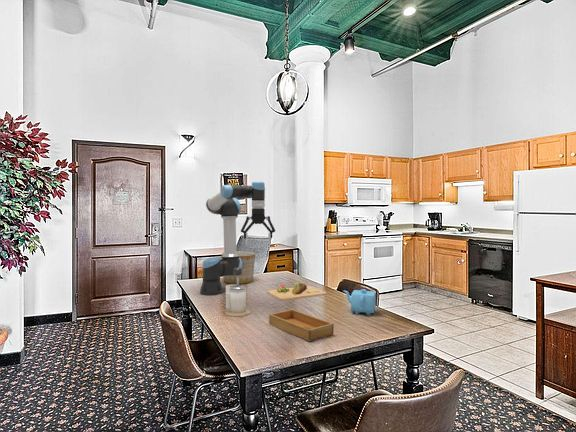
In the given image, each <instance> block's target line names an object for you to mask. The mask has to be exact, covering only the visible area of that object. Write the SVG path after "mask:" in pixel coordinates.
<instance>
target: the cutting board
mask: <svg viewBox="0 0 576 432" xmlns="http://www.w3.org/2000/svg"><path fill="white" fill-rule="evenodd" d="M278 287H279V288H276V289H270V290H268V291H266V294H268V295H270V296H272V297H274V298H275V299H278V300H279V301H289V300H297V299H303V298H304V299H305V298H313V297H320V296H326V295H327V293H328V292H326V291H324V290H321V289H319V288H316V287H314V286H311V285H306V284H304V283H302V282H298V284H297V283H294V284H293V287H285V285H283V284H280V285H279V286H278Z"/></svg>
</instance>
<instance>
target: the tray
mask: <svg viewBox="0 0 576 432" xmlns="http://www.w3.org/2000/svg"><path fill="white" fill-rule="evenodd" d="M268 324H269V325H271V326H273V327H275V328H277V329H280V330H282V331H284V332H287V333H288V334H289V333H290V334H291V335H293V336H296V337H298V338H301V339H302V340H305V341H307V342H311V341H316V340H318V339H321V338H325V337H328V336H331V335H334V327H335V326H334V323H332V322H329V321H327V320H324V319H322V318H318V317H315V316H313V315H310V314H307V313H304V312H302V311H298V310H296V309H293V308H292V309H288V310H283V311H278V312H274V313H273V312H272V313H270V314H269V315H268Z"/></svg>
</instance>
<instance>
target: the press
mask: <svg viewBox="0 0 576 432" xmlns="http://www.w3.org/2000/svg"><path fill="white" fill-rule="evenodd" d="M229 291H230V293H226V292H225V309H226V310H225V311H224V314H225V315H226V316H228V317H229V316H230V317H244V316H248V315H250V314H251V310H250V309H249V308H247V287H245V289H242V290H232V289H230V288H229Z"/></svg>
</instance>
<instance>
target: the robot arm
mask: <svg viewBox="0 0 576 432" xmlns="http://www.w3.org/2000/svg"><path fill="white" fill-rule="evenodd" d="M265 185H266V184H265V182H264V181H252V182H251V185H239V184H237V185H236V184H223V185H222V186H221V188H220V191H219V192H218V193H217V194H216V195H213V196H210V197H209V198H207V200H206V202H205V206H206V209H207V210H208V212H210V213H211V214H214V215H220V218H221V219H222V220H223V221H222V222H223V253H224V255H223V256H222V255H221V257H219V256H218V257H217V256H216V257H214V256H213V257H209V258H205V259H204V260H203V261H202V283H201V285H200V289H199V294H200V295H204V296H216V295H221V294H223V293H224V289H223V285H222V282H221V277H223V276H230V275H234V268H242V260H241V258H239V255H238V254H237V252H236V251H237V226H236V225H237V222H236V221H237V218H238V217H239V215H240V214H241V210H242V209H241V208H242V207H241V202H240V201H239V199H251V216H249V215H248V216H246V218H245V221H244V223H243V225H242V226H241V230H240V232H241V233H243V239H244V240H245V245H248V240H249V239H248V236H249V235H248V231H249V230H250V229H251V228H252V227H253V226H254V224H255V225H263V226H264V227H265V228H266V229H267V231H268V239H267V240H268V241H267V242H268V245H271V240H272V238H273V233H275V232H276V229H275V227H274V224H273V223H272V221H271V216H269V215H267V216H265V215H266V214H265V213H266V212H265V206H266V204H265V202H266V201H265V199H266V198H265V197H266V196H265V195H266V187H265ZM265 220H266V221H267V222H268V224H267V223H266V222H265ZM249 221H251V222H250V224H249V225H248V223H249ZM247 225H248V226H247ZM268 225H269V226H270V227H269V226H268ZM246 226H247V227H246Z"/></svg>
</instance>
